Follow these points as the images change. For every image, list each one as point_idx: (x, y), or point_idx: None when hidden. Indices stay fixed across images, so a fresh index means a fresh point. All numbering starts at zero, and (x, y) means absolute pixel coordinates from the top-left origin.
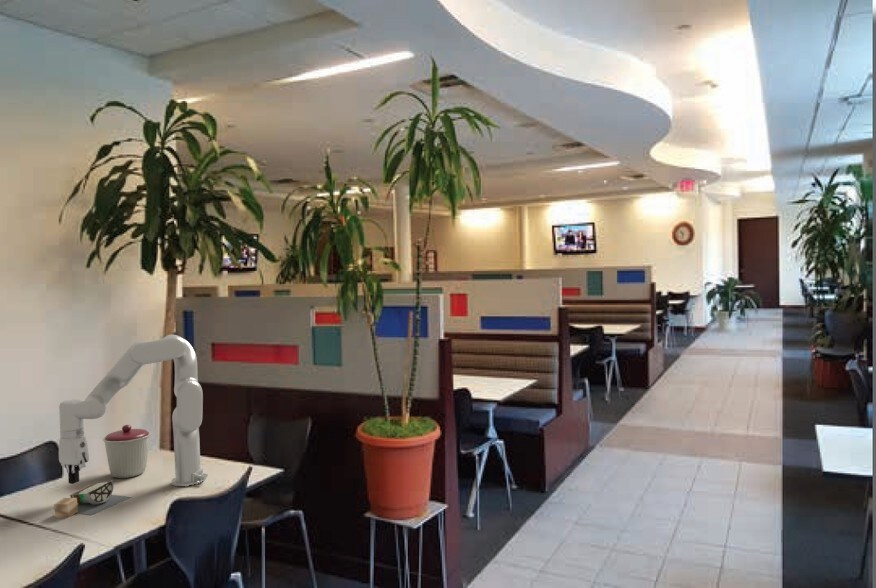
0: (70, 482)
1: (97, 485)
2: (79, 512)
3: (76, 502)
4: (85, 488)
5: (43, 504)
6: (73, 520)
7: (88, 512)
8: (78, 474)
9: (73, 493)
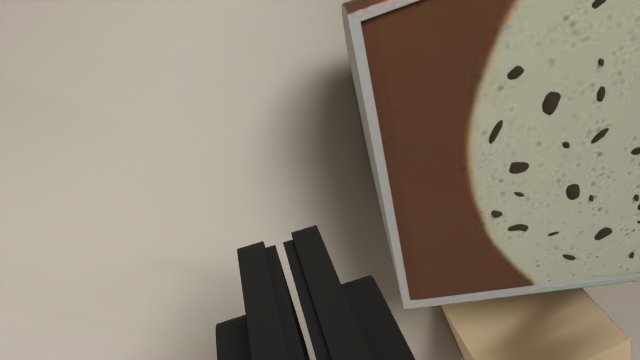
0: (307, 353)
1: (610, 46)
2: None
3: (598, 312)
4: (435, 149)
5: (40, 337)
6: (613, 306)
7: None
8: (404, 345)
9: (404, 276)
